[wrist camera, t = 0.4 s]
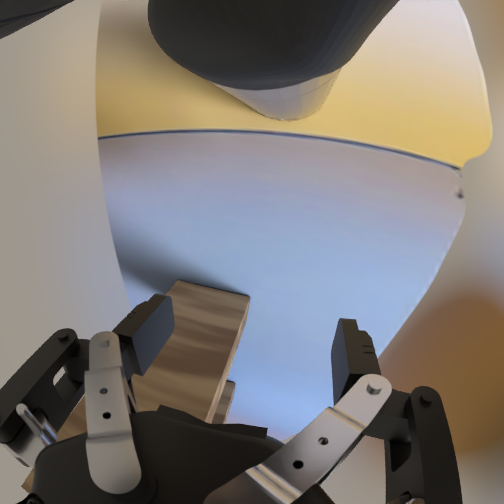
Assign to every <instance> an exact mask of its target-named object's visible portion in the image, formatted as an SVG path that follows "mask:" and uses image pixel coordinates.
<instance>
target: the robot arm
mask: <svg viewBox="0 0 504 504" xmlns="http://www.w3.org/2000/svg"><path fill="white" fill-rule="evenodd" d="M72 1H74V0H0V39H1V38H3V37H5V36H8V35H10V34H12V33H14V32H15V31H18V30H19V29H21V28H23V27H25V26H27V25H29V24H31V23H33V22H35V21H37V20H39V19H41V18H43V17H44V16H46V15H48V14H50V13H52V12H53V11H55V10H57V9H59V8H60V7H62V6H64V5H66V4H68V3H70V2H72ZM398 1H399V0H149V2H148V21H149V26H150V29H151V32H152V34H153V36H154V38H155V40H156V42H157V43H158V44H159V46H160V47H161V48H162V50H163V51H164V52H165V53H166V54H167V55H168V56H169V57H170V58H172V59H173V60H174V61H175V62H177V63H178V64H180V65H181V66H182V67H184V68H186V69H188V70H189V71H191V72H193V73H195V74H197V75H198V76H200V77H202V78H204V79H205V80H207V81H209V82H211V83H212V84H214V85H216V86H217V87H219V88H221V89H223V90H224V91H226V92H228V93H229V94H231V95H233V96H234V97H236V98H237V99H239V100H240V101H242V102H244V103H245V104H247V105H248V106H250V107H251V108H253V109H254V110H256V112H258V113H260V114H261V115H264V116H266V117H268V118H271V119H275V120H279V121H293V120H299V119H302V118H305V117H307V116H309V115H311V114H312V113H314V112H315V111H316V110H317V109H319V108H320V107H321V105H322V104H323V102H324V101H325V99H326V97H327V96H328V94H329V92H330V90H331V88H332V86H333V84H334V82H335V80H336V78H337V76H338V74H339V72H340V70H341V68H342V66H344V65H345V64H346V63H347V62H348V61H350V60H351V58H352V57H353V56H354V55H355V53H356V52H357V51H358V50H359V48H360V47H361V46H362V44H363V43H364V41H365V40H366V39H367V37H368V36H369V35H370V34H371V32H372V31H373V30H374V29H375V27H376V26H377V25H378V24H379V23H380V21H381V20H382V19H383V18H384V17H385V16H386V15H387V13H388V12H389V11H390V10H391V9H392V8H393V7H394V6H395V5H396V4H397V2H398ZM174 326H175V321H174V313H173V305H172V299H171V297H170V296H167V295H162V294H154V295H153V296H152V297H151V298H150V299H149V300H148V301H145V302H143V303H141V304H139V305H137V306H136V307H135V308H134V309H133V310H132V311H131V313H129V314H128V315H127V317H125V318H124V319H123V320H122V321H121V322H120V323H119V324H118V325H117V327H115V328H114V329H113V331H112V332H109V331H105V332H100V333H98V334H96V335H94V336H93V337H92V338H91V339H90V340H87V339H78V337H77V334H76V332H75V331H74V330H72V329H69V328H67V329H61V330H58V331H57V332H55V333H54V334H53V335H52V336H51V337H50V338H49V339H48V340H47V341H46V342H45V343H44V344H43V345H42V346H41V347H40V348H39V349H38V350H37V351H36V352H35V353H34V354H33V355H32V356H31V357H30V358H29V359H28V360H27V361H26V362H25V363H24V364H23V365H22V366H21V368H20V369H18V371H17V372H16V373H15V374H14V375H13V376H12V377H11V378H10V379H9V380H8V381H7V383H6V384H5V385H4V386H3V387H2V388H1V389H0V444H1V445H2V446H3V447H4V448H5V449H6V450H7V451H8V452H9V453H10V454H11V455H12V456H14V457H15V458H16V459H17V460H18V461H19V462H21V463H22V464H23V465H24V466H27V467H32V468H33V469H34V476H33V482H32V487H31V490H30V493H29V495H28V496H27V497H26V498H25V499H24V500H23V501H21V502H19V503H17V504H335V503H334V502H333V501H332V500H331V498H330V497H329V496H328V495H327V494H326V493H325V491H324V490H323V489H322V488H321V487H320V486H321V485H322V484H323V483H324V482H325V481H326V480H327V479H328V478H329V477H330V476H331V474H332V473H333V472H334V471H335V470H336V469H337V468H338V467H339V465H340V464H341V463H342V462H343V461H344V460H345V459H346V457H347V456H348V455H349V454H350V453H351V452H352V450H353V449H354V448H355V447H356V445H357V444H358V443H359V442H360V441H361V439H362V438H363V437H364V436H365V435H367V436H371V437H375V438H379V439H384V445H385V465H386V466H385V467H386V504H463V503H462V493H461V485H460V478H459V472H458V467H457V461H456V456H455V451H454V446H453V443H452V437H451V433H450V429H449V426H448V421H447V418H446V414H445V411H444V407H443V404H442V400H441V398H440V395H439V394H438V392H437V391H435V390H434V389H432V388H430V387H427V386H420V387H417V388H415V389H414V390H413V391H412V393H411V394H410V393H405V392H401V391H397V390H394V389H392V387H391V384H390V382H389V381H388V380H387V379H386V378H384V377H383V376H381V372H380V368H379V364H378V360H377V356H376V354H375V349H374V347H373V346H374V345H373V342H372V338H371V337H370V336H369V335H368V333H367V332H366V331H360V330H358V326H357V322H356V320H355V319H343V318H340V319H339V321H338V325H337V329H336V333H335V337H334V341H333V345H332V350H331V363H332V378H333V398H334V407H333V408H331V407H327V408H326V409H325V410H324V411H323V412H322V413H321V414H320V415H318V416H317V417H316V418H315V419H314V420H313V421H312V422H311V423H310V424H309V425H308V426H306V427H305V428H304V429H303V430H302V431H301V432H300V433H298V434H297V435H296V436H295V437H294V438H293V439H291V440H290V441H289V442H288V443H287V444H286V445H285V444H284V443H282V442H280V441H279V440H277V439H275V438H273V437H270V436H267V429H268V428H264V427H257V426H250V425H244V424H210V423H207V422H205V421H203V420H201V419H198V418H196V417H194V416H192V415H191V414H189V413H187V412H185V411H181V410H178V409H174V408H171V407H168V406H164V405H161V404H160V406H159V407H158V409H157V411H141V412H139V408H138V404H137V400H136V395H135V391H134V386H133V381H132V378H131V377H132V376H133V374H136V375H139V376H142V377H143V376H144V374H145V373H146V371H147V370H148V368H149V367H150V365H151V364H152V362H153V361H154V359H155V358H156V356H157V355H158V353H159V352H160V351H161V349H162V348H163V346H164V345H165V343H166V342H167V340H168V339H169V338H170V336H171V335H172V333H173V330H174ZM62 367H63V368H64V370H65V374H64V375H63V376H62V378H60V380H59V381H58V382H57V383H56V385H55V386H54V384H53V379H54V376H55V375H56V374H57V372H58V371H59V370H60V369H61V368H62ZM84 394H85V405H86V419H87V430H88V431H87V432H85V433H82V434H79V435H76V436H73V437H70V438H67V439H64V440H61V441H58V442H57V433H58V431H59V430H60V428H61V427H62V425H63V424H64V422H65V421H66V419H67V418H68V417H69V415H70V414H71V412H72V411H73V409H74V408H75V406H76V405H77V403H78V402H79V401H80V399H81V398H82V396H83V395H84Z"/></svg>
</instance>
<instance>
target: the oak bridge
mask: <svg viewBox="0 0 504 504" xmlns="http://www.w3.org/2000/svg"><path fill="white" fill-rule="evenodd" d="M165 295H167V296H170V297H171V299H172V305H173V313H174V321H175V326H174V330H173V333H172V335H171V336H170V338H169V339H168V340H167V342H166V343H165V345H164V346H163V348H162V349H161V351H160V352H159V353H158V355H157V356H156V358H155V359H154V361H153V362H152V364H151V365H150V367H149V368H148V370H147V371H146V373H145V374H144V376H143V377H142V376H139V375H136V374H133V376H132V377H131V378H132V381H133V386H134V391H135V395H136V400H137V404H138V408H139V412H141V411H157V409H158V407H159V406H160V404H161V405H164V406H168V407H171V408H174V409H178V410H181V411H185V412H187V413H189V414H191V415H192V416H194V417H196V418H198V419H201V420H203V421H205V422H207V423H210V424H225V422H226V419H227V415H228V412H229V409H230V406H231V403H232V399H233V396H234V390H235V384H236V383H232V382H228V381H226V379H227V376H228V374H229V371H230V368H231V365H232V362H233V359H234V356H235V353H236V350H237V347H238V344H239V341H240V338H241V336H242V333H243V330H244V327H245V324H246V320H247V314H248V308H249V302H250V297H248V296H243V295H239V294H234V293H230V292H226V291H222V290H217V289H213V288H209V287H205V286H201V285H197V284H192V283H188V282H184V281H181V280H177V281H176V282H175V284H174V285H173V286H172V287H171V288H170V289H169V291H168V292H167V293H166V294H165ZM87 431H88V430H87V419H86V405H85V395H84V397H83V398H82V399H81V401H80V402H79V403H78V405H77V406H76V408H75V409H74V410H73V412H72V413H71V414H70V416H69V417H68V418H67V420H66V421H65V423H64V424H63V425H62V427H61V428H60V430H59V431H58V433H57V442H58V441H61V440H64V439H67V438H70V437H73V436H76V435H79V434H82V433H85V432H87ZM33 476H34V469H32V471H31V472H30V474H29V475H28V477H27V478H26V480H25V482H24V483H23V485H22V486H21V487H22V488H23V489H25V490H26V491H27V492H28V493H30V490H31V487H32V482H33Z"/></svg>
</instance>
